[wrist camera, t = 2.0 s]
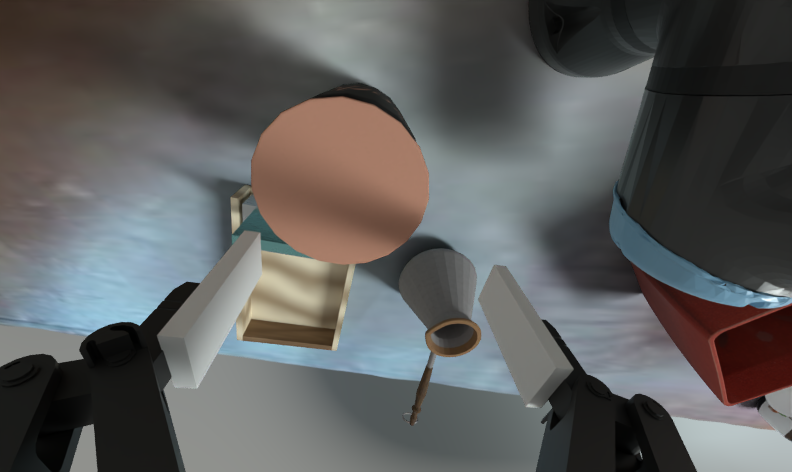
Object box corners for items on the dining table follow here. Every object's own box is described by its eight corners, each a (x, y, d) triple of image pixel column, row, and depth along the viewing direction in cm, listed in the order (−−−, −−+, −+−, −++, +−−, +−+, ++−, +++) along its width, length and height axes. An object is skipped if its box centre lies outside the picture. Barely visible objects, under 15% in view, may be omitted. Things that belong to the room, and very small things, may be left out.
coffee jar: (420, 108, 31) (462, 145, 16) (384, 191, 36) (390, 282, 20) (327, 64, 29) (267, 55, 13) (301, 160, 33) (236, 237, 18)
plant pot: (627, 314, 51) (727, 410, 36) (596, 246, 43) (709, 337, 28) (745, 259, 46) (916, 346, 31) (736, 170, 37) (964, 232, 23)
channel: (245, 184, 34) (230, 197, 31) (365, 208, 37) (364, 222, 34) (247, 319, 46) (237, 339, 42) (339, 330, 49) (336, 350, 45)
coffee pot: (412, 230, 39) (429, 309, 26) (484, 249, 42) (532, 330, 29) (370, 331, 49) (368, 423, 36) (430, 342, 52) (448, 432, 39)
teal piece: (253, 193, 34) (216, 228, 26) (355, 213, 36) (349, 251, 29) (253, 234, 37) (220, 277, 29) (347, 250, 39) (340, 295, 31)
